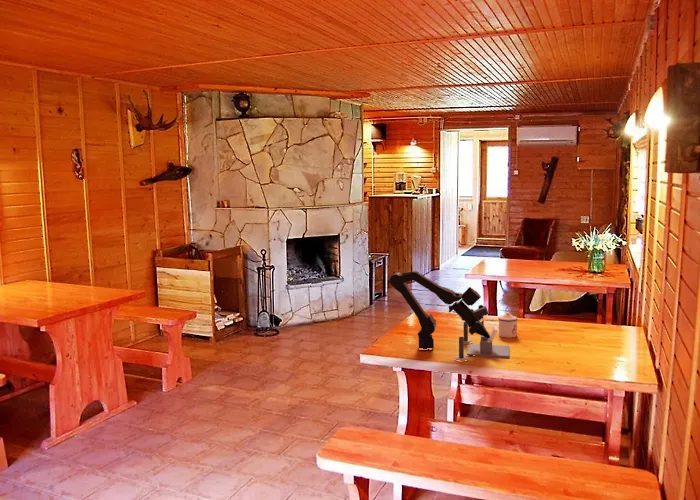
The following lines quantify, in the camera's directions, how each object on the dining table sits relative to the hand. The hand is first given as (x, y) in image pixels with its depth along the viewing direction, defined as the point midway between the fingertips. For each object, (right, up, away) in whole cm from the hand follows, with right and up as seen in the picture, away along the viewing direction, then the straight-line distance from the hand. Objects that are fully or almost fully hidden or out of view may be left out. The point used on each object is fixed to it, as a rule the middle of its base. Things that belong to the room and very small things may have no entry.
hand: (489, 337), depth 259 cm
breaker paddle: (-1, -5, +1) cm, 5 cm away
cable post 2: (-7, -5, +17) cm, 19 cm away
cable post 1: (-15, -8, -10) cm, 19 cm away
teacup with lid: (+16, -3, +29) cm, 33 cm away
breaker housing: (-1, -7, +1) cm, 7 cm away
